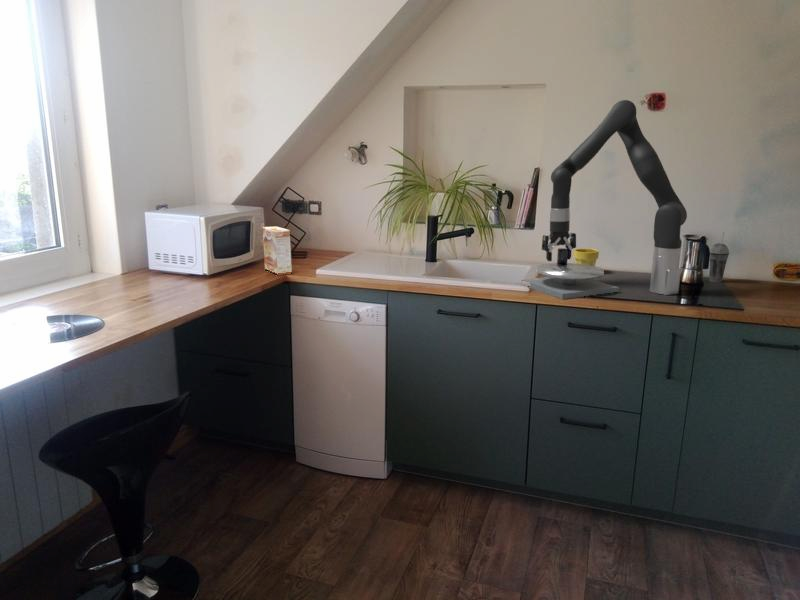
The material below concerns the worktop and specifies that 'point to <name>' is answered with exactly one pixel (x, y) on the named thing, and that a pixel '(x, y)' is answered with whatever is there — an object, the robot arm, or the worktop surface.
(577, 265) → the handwheel
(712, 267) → the beverage cup
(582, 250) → the plant pot
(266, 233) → the coffeecake box
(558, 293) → the wheel base
